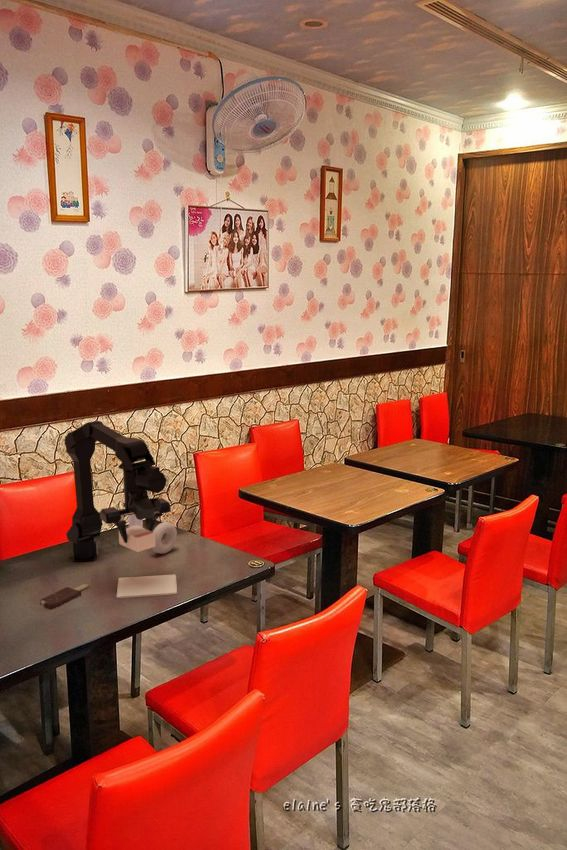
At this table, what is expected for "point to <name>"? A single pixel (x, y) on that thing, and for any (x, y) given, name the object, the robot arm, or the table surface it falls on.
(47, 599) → the ice cream bar
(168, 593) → the mat
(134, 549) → the card deck
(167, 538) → the donut
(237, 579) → the table surface
